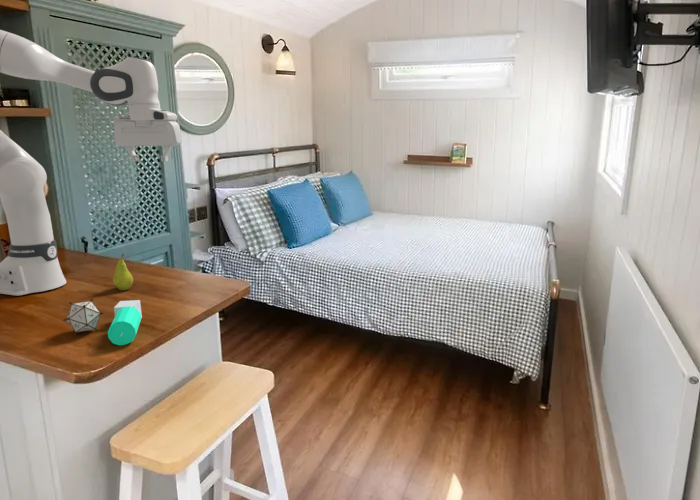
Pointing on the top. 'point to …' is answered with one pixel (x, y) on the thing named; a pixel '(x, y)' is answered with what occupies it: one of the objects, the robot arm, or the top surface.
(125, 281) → the fruit
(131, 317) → the candle
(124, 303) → the grey block
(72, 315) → the game die
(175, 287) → the top surface
